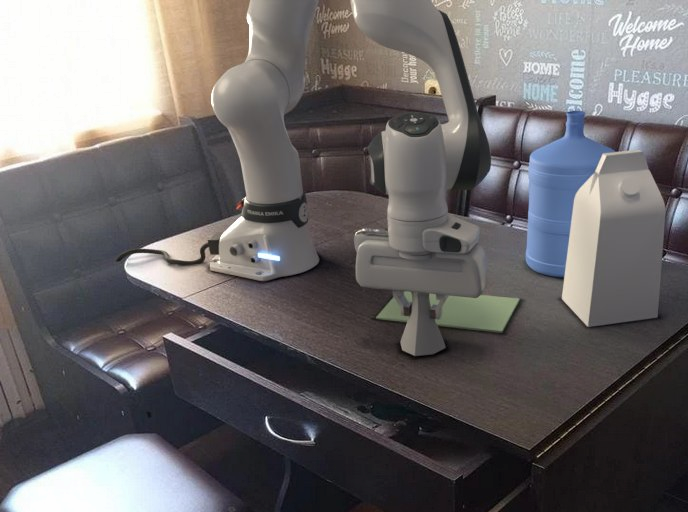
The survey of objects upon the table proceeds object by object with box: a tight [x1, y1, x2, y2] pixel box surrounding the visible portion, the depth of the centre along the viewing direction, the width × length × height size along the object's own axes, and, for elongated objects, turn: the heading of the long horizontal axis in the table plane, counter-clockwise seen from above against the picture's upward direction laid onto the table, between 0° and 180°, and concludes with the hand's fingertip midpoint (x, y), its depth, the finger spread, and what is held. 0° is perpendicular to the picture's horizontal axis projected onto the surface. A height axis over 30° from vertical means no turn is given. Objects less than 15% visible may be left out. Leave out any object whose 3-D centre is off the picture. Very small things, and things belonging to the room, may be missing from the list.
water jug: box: [525, 110, 616, 279], centre depth 141 cm, size 16×16×28 cm
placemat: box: [375, 291, 521, 334], centre depth 134 cm, size 22×13×1 cm, turn 69°
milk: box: [561, 149, 666, 328], centre depth 124 cm, size 12×12×26 cm
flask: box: [399, 292, 447, 357], centre depth 120 cm, size 7×7×10 cm
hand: (421, 316), depth 120 cm, fingers closed on flask, 3 cm apart
